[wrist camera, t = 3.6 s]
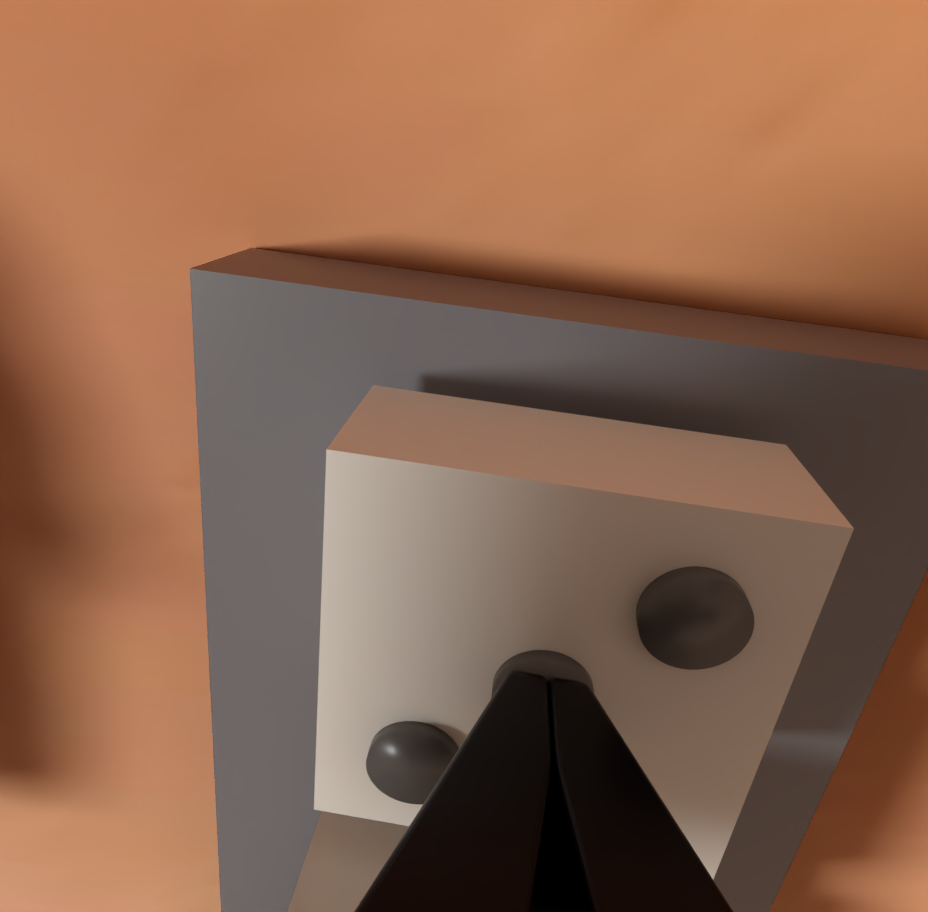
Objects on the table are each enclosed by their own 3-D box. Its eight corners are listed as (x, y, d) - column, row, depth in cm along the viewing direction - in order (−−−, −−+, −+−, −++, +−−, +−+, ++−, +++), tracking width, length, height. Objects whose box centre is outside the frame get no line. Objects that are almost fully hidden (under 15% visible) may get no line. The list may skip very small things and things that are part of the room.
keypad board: (649, 1039, 17) (661, 1142, 16) (260, 965, 18) (228, 1057, 16) (928, 339, 10) (1014, 382, 8) (251, 247, 10) (189, 268, 9)
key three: (683, 751, 10) (717, 896, 8) (353, 695, 11) (309, 822, 9) (786, 444, 8) (862, 540, 6) (373, 384, 9) (321, 457, 7)
